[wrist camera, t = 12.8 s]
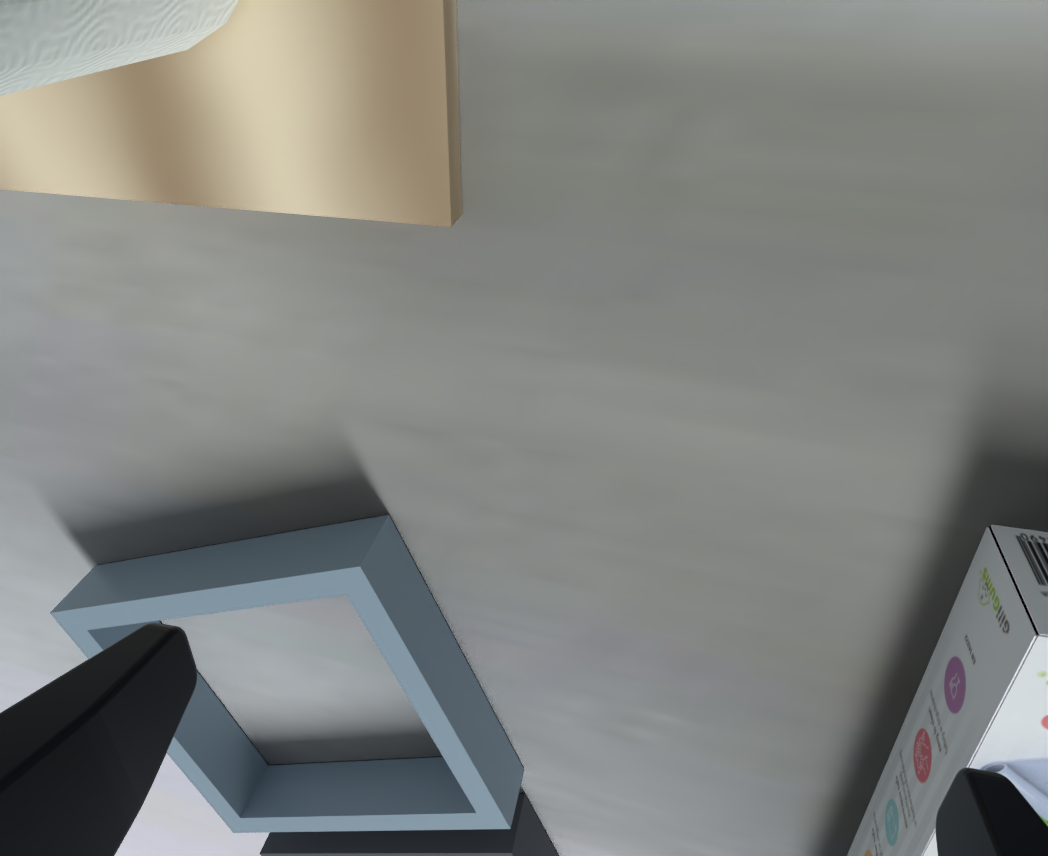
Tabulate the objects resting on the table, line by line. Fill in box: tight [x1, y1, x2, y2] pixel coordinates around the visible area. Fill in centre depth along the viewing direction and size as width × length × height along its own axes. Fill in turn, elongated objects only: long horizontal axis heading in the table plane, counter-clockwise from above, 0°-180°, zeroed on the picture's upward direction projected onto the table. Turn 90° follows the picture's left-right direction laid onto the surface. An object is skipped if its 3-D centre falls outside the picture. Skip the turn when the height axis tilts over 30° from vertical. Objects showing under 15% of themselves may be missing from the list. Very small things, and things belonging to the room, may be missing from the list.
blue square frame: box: [50, 515, 524, 833], centre depth 30 cm, size 13×13×2 cm
